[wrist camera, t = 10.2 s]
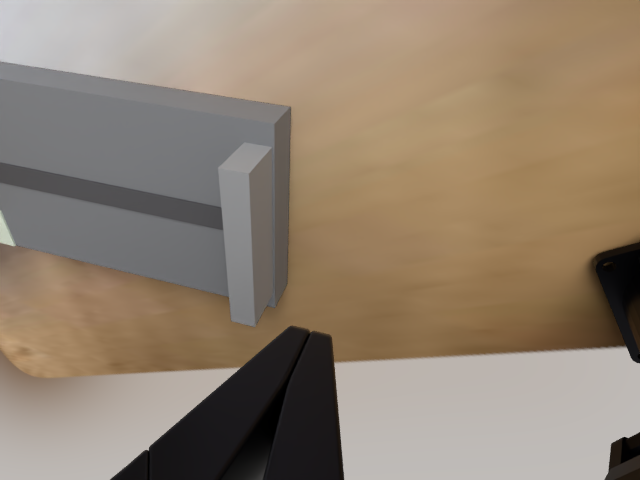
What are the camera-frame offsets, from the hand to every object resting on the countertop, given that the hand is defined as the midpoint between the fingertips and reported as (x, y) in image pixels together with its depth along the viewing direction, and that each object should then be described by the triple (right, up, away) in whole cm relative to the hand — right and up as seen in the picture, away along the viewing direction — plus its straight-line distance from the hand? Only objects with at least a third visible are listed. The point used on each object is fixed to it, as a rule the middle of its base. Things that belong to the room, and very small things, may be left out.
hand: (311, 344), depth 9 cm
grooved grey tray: (-12, +6, +15) cm, 20 cm away
